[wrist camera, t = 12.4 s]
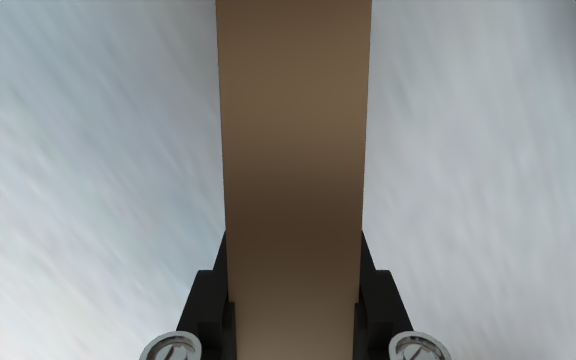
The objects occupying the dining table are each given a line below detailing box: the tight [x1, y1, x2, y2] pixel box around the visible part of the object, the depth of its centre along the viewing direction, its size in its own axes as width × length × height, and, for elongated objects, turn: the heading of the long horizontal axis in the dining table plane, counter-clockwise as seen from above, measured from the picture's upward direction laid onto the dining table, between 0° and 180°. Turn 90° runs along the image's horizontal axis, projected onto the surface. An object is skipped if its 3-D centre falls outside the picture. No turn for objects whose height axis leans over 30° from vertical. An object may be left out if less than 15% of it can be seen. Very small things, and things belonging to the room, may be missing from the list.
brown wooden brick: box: [216, 0, 372, 360], centre depth 11 cm, size 19×7×5 cm, turn 179°
